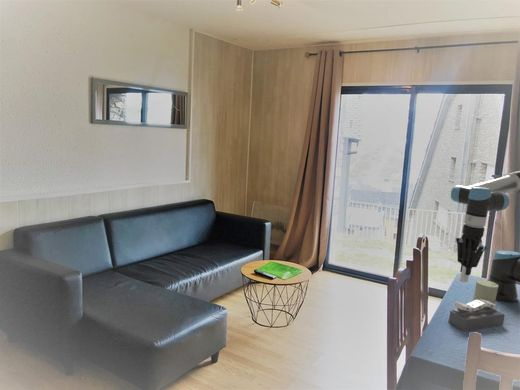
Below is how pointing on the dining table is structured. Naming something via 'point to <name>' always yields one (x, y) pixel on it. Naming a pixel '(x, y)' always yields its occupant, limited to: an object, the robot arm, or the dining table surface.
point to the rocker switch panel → (476, 318)
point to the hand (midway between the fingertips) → (463, 281)
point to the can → (485, 291)
